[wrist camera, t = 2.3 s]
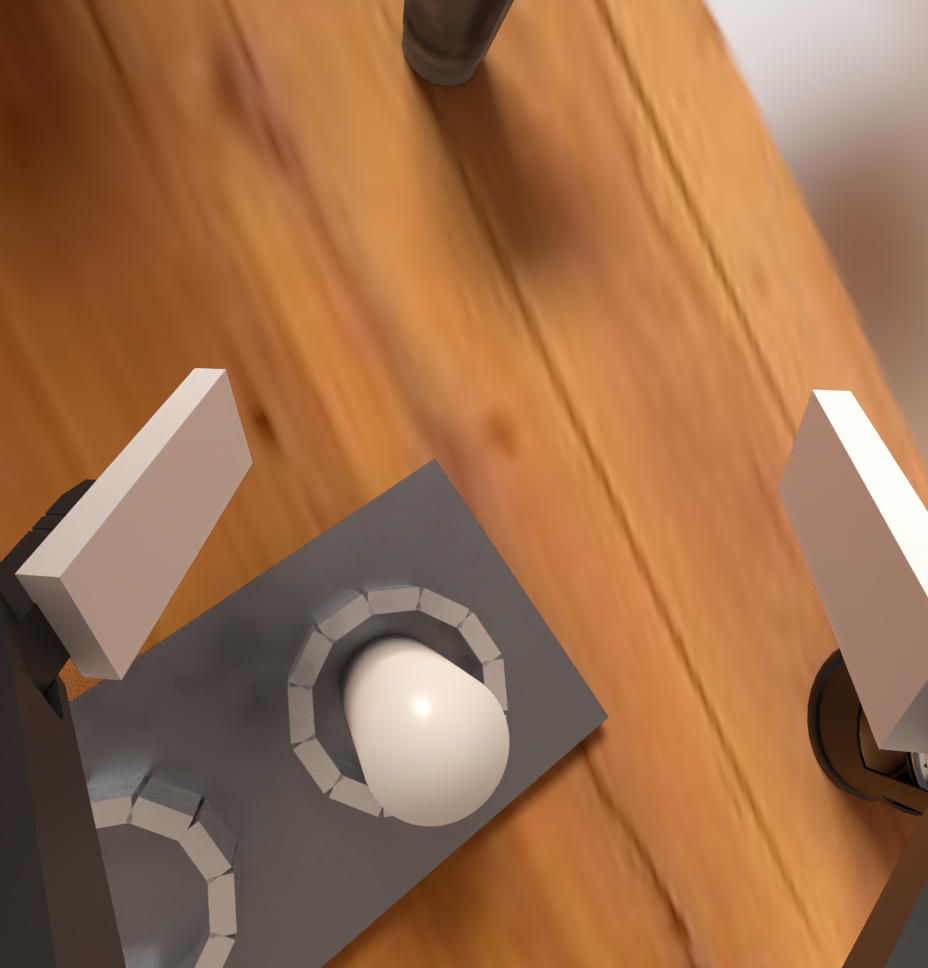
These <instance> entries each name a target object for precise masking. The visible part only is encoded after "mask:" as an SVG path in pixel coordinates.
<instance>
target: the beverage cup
mask: <svg viewBox="0 0 928 968" xmlns="http://www.w3.org/2000/svg"><path fill="white" fill-rule="evenodd" d="M513 1H514V0H405V2H404V13H403V26H404V27H403V37H402V47H403V51H404V55H405V58H406V59H407V61H408V63H409V64H410V66H411V68H412V69H413V70H414V71H415V72H416V73H417V74H418V75H419V76H420V77H422V78H424V79H425V80H427V81H429V82H431V83H433V84H437V85H441V86H457V85H459V84H462V83H464V82H467V81H468V80H469V79H470V78H471V77H472V76H473V75H474V74H475V72H476V70H477V67H478V66H479V64H480V62H481V60H482V59H483V58H484V57H485V55H486V53H487V51H488V49H489V48H490V46H491V44H492V42H493V40H494V38H495V36H496V34H497V32H498V30H499V28H500V26H501V24H502V22H503V20H504V18H505V16H506V14H507V12H508V10H509V9H510V7H511V5H512V3H513Z"/></svg>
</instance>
